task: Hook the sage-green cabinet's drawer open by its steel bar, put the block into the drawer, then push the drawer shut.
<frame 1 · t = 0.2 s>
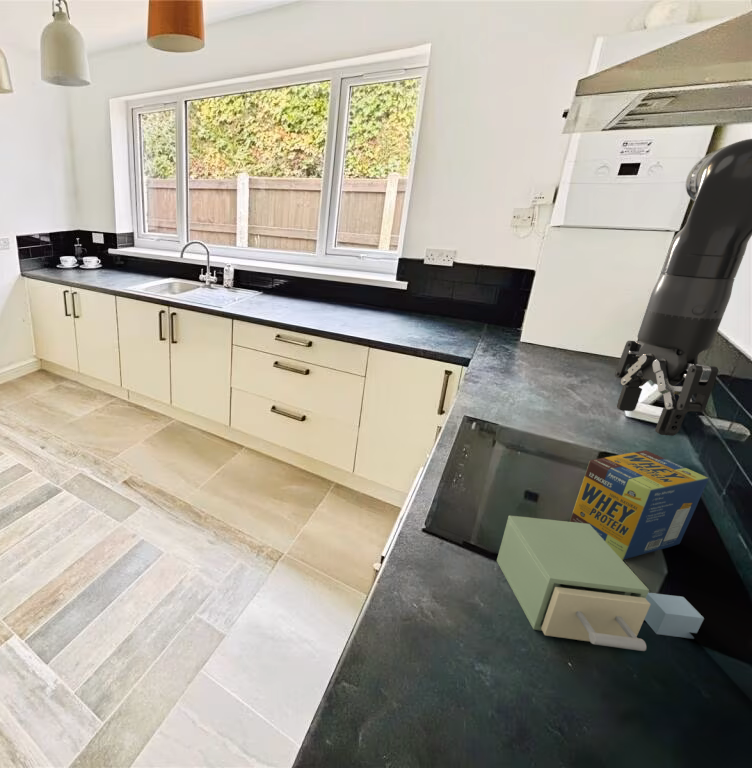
hand: (643, 421, 66), 30 cm above the worktop, tool pointing down, fingers open, 8 cm apart
protein box: (621, 539, 87), on the worktop
block: (665, 625, 69), on the worktop
drawer: (579, 596, 67), point 5 cm above the worktop, slide at 0.5 cm
cabinet: (555, 597, 73), on the worktop
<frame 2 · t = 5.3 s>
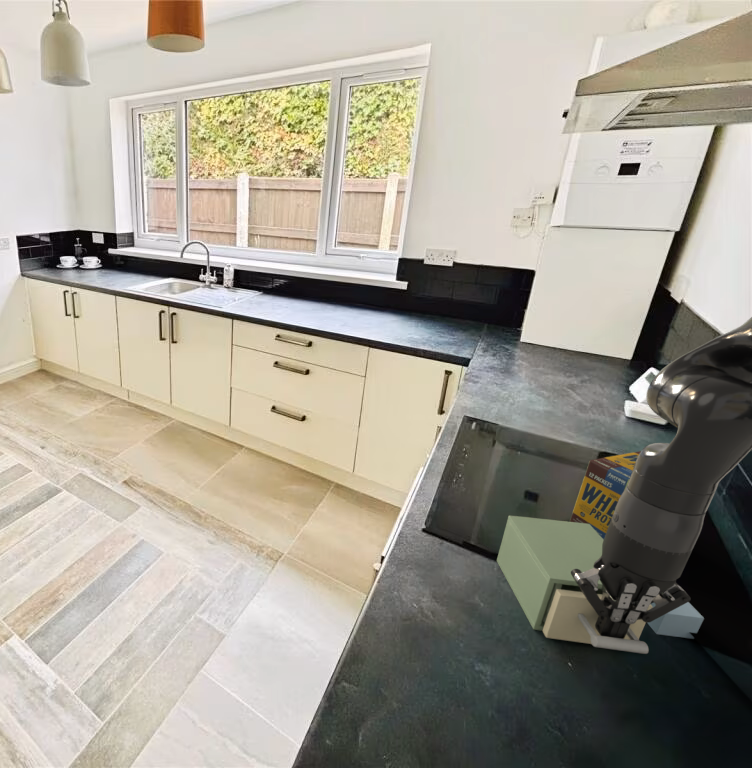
hand: (607, 637, 61), 5 cm above the worktop, tool pointing down, fingers closed
drawer: (580, 598, 67), point 5 cm above the worktop, slide at 0.9 cm, touching gripper
everything else where it was.
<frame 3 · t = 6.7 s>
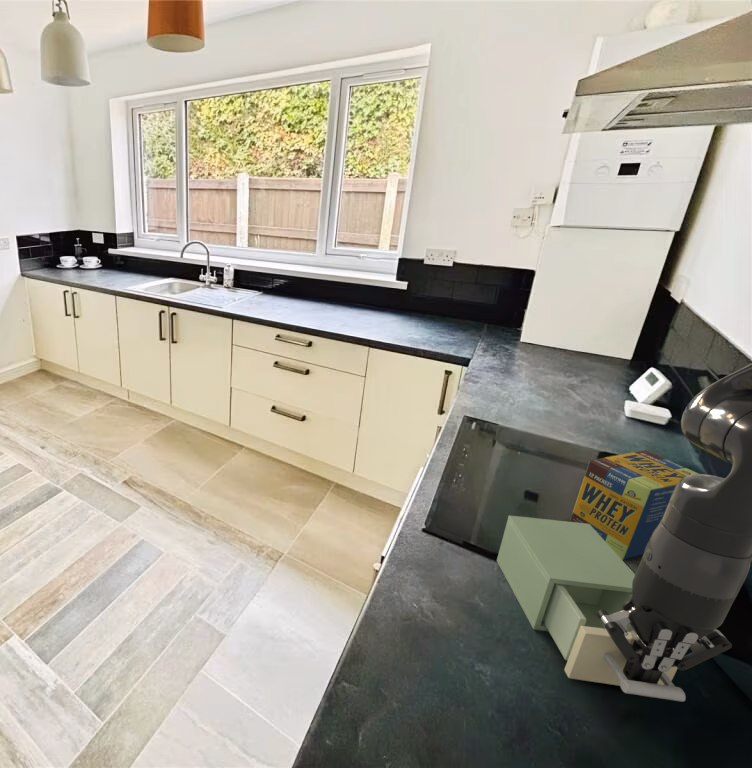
hand: (636, 684, 55), 4 cm above the worktop, tool pointing down, fingers closed
drawer: (605, 634, 61), point 5 cm above the worktop, slide at 7.0 cm, touching gripper
everything else where it was.
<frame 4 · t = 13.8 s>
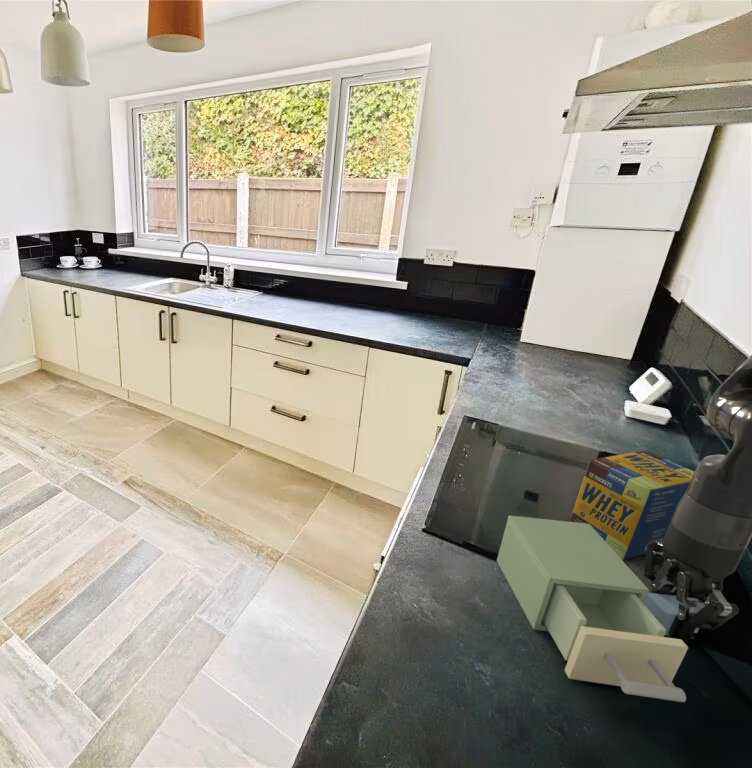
hand: (665, 623, 68), 0 cm above the worktop, tool pointing down, fingers closed on block, 4 cm apart
block: (665, 625, 69), on the worktop, touching gripper
drawer: (606, 634, 61), point 5 cm above the worktop, slide at 7.1 cm
everything else where it was.
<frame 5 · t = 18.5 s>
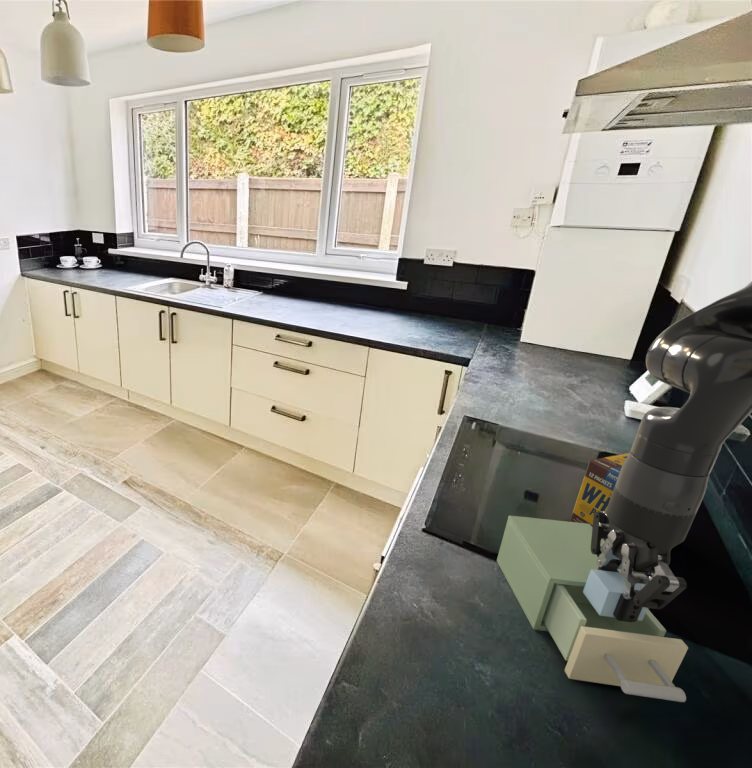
hand: (612, 604, 60), 9 cm above the worktop, tool pointing down, fingers closed on block, 4 cm apart
block: (611, 606, 60), point 9 cm above the worktop, touching gripper
everything else where it was.
when the fingers open (11 cm above the worktop, at t = 27.5 s): block drops 9 cm, resting on drawer.
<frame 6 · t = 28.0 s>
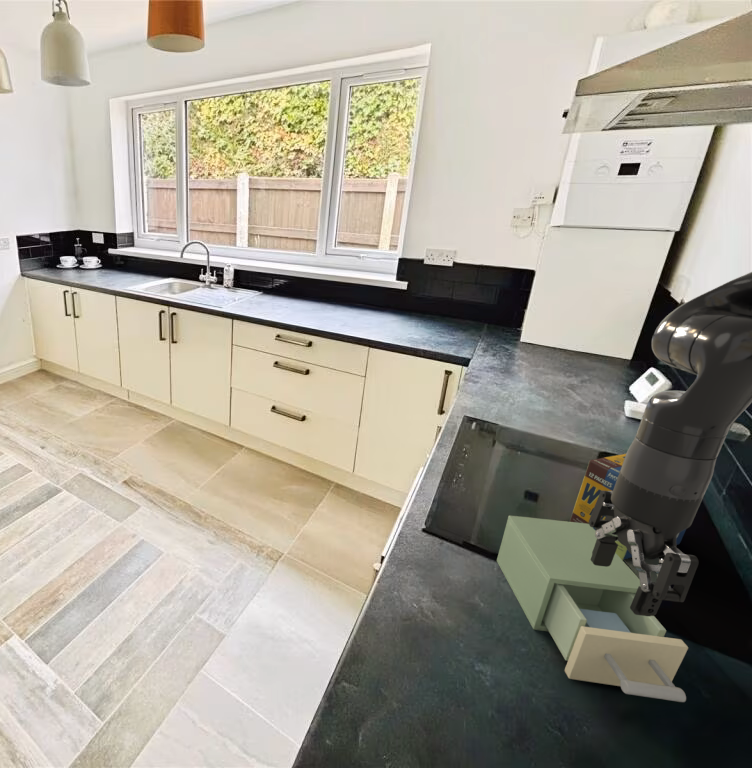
hand: (618, 587, 59), 12 cm above the worktop, tool pointing down, fingers open, 8 cm apart
block: (596, 644, 63), point 2 cm above the worktop, touching drawer
drawer: (606, 634, 61), point 5 cm above the worktop, slide at 7.1 cm, touching block
everything else where it was.
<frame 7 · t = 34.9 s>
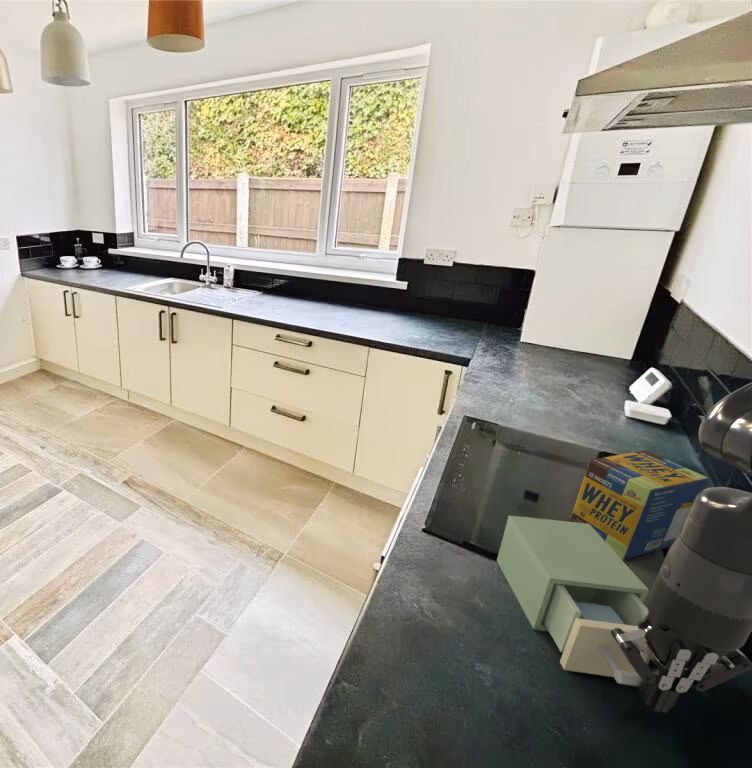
hand: (652, 704, 53), 4 cm above the worktop, tool pointing down, fingers closed
block: (591, 636, 64), point 2 cm above the worktop, touching drawer
drawer: (600, 627, 62), point 5 cm above the worktop, slide at 5.9 cm, touching gripper, block
everything else where it was.
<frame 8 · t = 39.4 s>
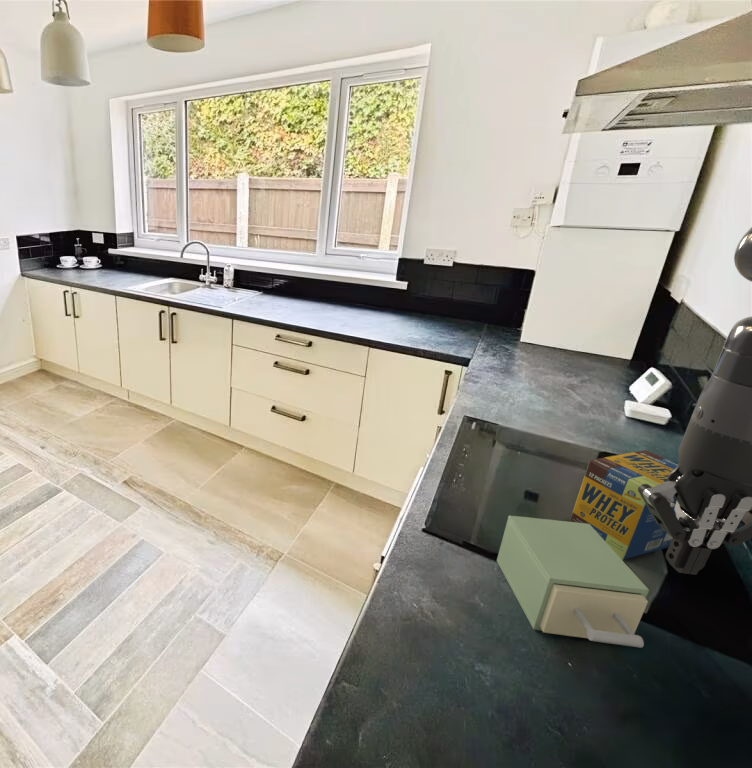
hand: (681, 568, 50), 21 cm above the worktop, tool pointing down, fingers closed
block: (569, 603, 69), point 2 cm above the worktop, touching drawer
drawer: (577, 594, 68), point 5 cm above the worktop, slide at 0.0 cm, touching cabinet, block
everything else where it was.
at the end: drawer pulled out 7.1 cm at the most during the clip, back to where it started at the end; block inside the target area in the cabinet (3.3 cm from its centre), point 2.0 cm above the cabinet's base; drawer slide at 0.0 cm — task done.
